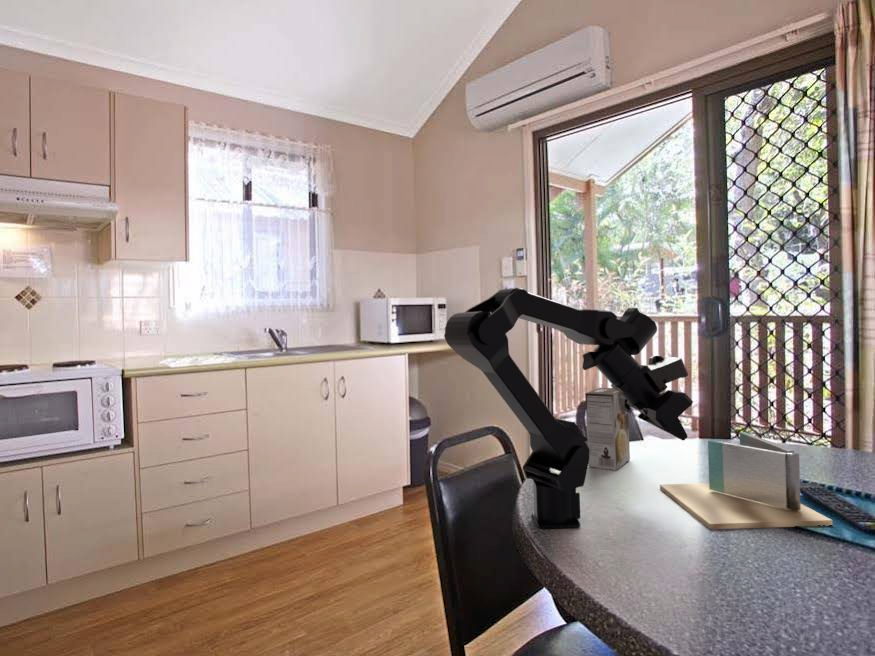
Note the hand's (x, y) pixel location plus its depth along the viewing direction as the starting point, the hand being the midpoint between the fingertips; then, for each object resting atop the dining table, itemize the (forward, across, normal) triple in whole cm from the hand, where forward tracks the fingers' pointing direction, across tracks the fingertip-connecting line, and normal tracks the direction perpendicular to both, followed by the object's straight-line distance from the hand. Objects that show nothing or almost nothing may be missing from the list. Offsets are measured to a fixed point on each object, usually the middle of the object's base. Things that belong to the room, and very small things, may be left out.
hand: (684, 438), depth 88 cm
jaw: (+13, -3, -1) cm, 14 cm away
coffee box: (+4, +23, +11) cm, 26 cm away
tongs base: (+13, -2, +2) cm, 13 cm away
